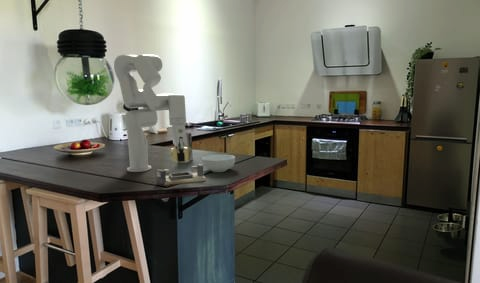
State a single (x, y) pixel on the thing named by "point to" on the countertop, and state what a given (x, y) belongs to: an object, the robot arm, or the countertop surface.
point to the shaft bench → (180, 176)
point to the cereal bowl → (218, 162)
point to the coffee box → (189, 146)
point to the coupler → (175, 151)
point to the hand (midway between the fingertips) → (180, 159)
